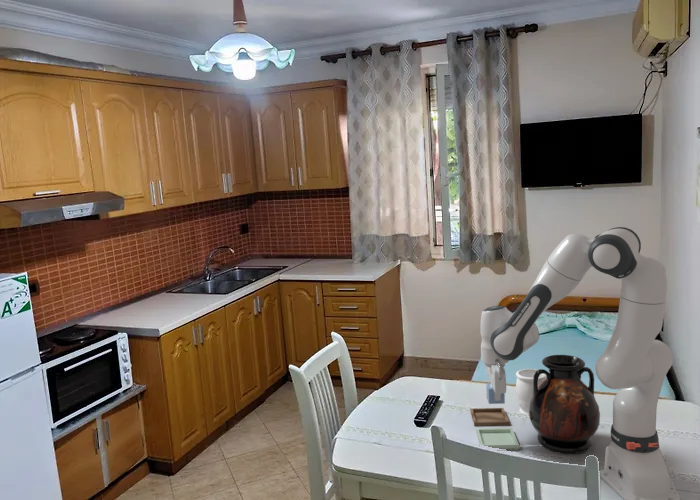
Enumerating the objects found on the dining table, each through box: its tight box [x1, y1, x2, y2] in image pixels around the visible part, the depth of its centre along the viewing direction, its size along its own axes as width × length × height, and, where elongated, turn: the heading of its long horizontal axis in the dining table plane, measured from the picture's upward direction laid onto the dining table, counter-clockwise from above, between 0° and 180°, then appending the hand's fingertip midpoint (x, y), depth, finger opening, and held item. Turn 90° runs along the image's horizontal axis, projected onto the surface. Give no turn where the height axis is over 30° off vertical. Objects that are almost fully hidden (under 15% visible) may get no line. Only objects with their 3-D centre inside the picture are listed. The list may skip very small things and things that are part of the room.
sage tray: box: [475, 427, 520, 451], centre depth 192 cm, size 12×12×2 cm
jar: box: [515, 368, 546, 416], centre depth 211 cm, size 11×10×15 cm
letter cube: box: [485, 382, 506, 405], centre depth 190 cm, size 5×5×5 cm
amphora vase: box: [528, 354, 601, 455], centre depth 186 cm, size 22×22×28 cm
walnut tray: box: [469, 407, 510, 427], centre depth 208 cm, size 12×12×2 cm
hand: (495, 395), depth 190 cm, fingers closed on letter cube, 5 cm apart
